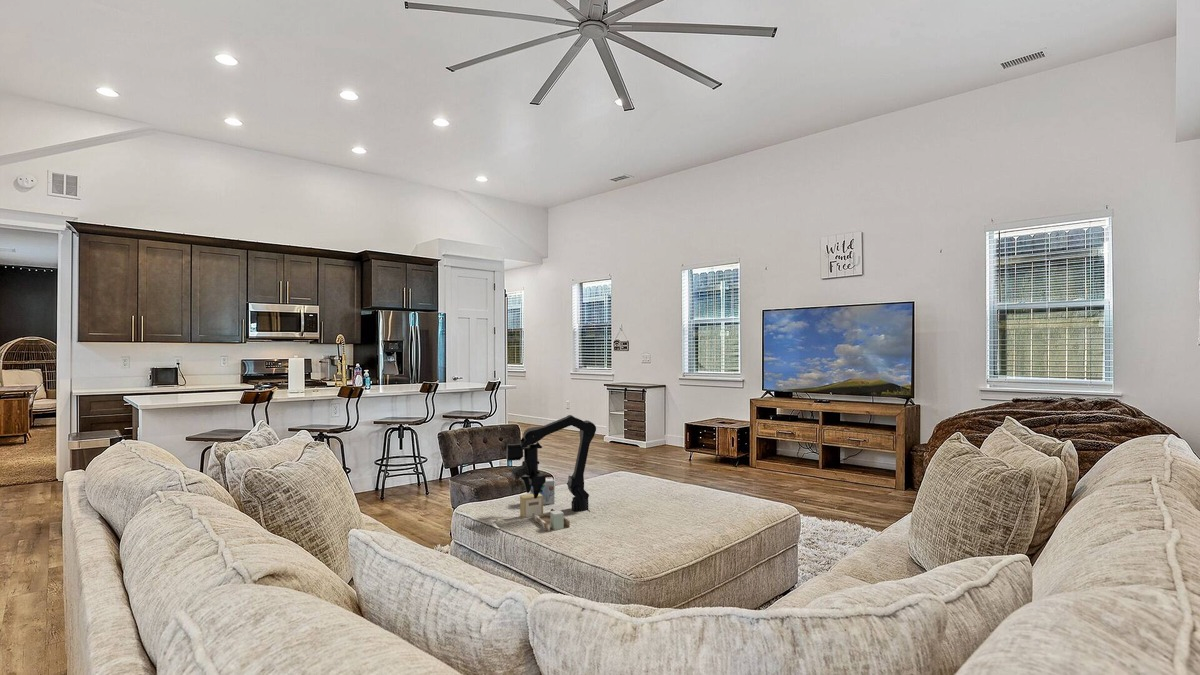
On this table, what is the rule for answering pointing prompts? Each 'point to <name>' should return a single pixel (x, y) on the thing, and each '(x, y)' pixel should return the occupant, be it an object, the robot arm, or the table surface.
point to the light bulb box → (547, 491)
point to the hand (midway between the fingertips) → (531, 495)
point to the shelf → (548, 521)
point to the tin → (556, 519)
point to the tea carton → (531, 505)
